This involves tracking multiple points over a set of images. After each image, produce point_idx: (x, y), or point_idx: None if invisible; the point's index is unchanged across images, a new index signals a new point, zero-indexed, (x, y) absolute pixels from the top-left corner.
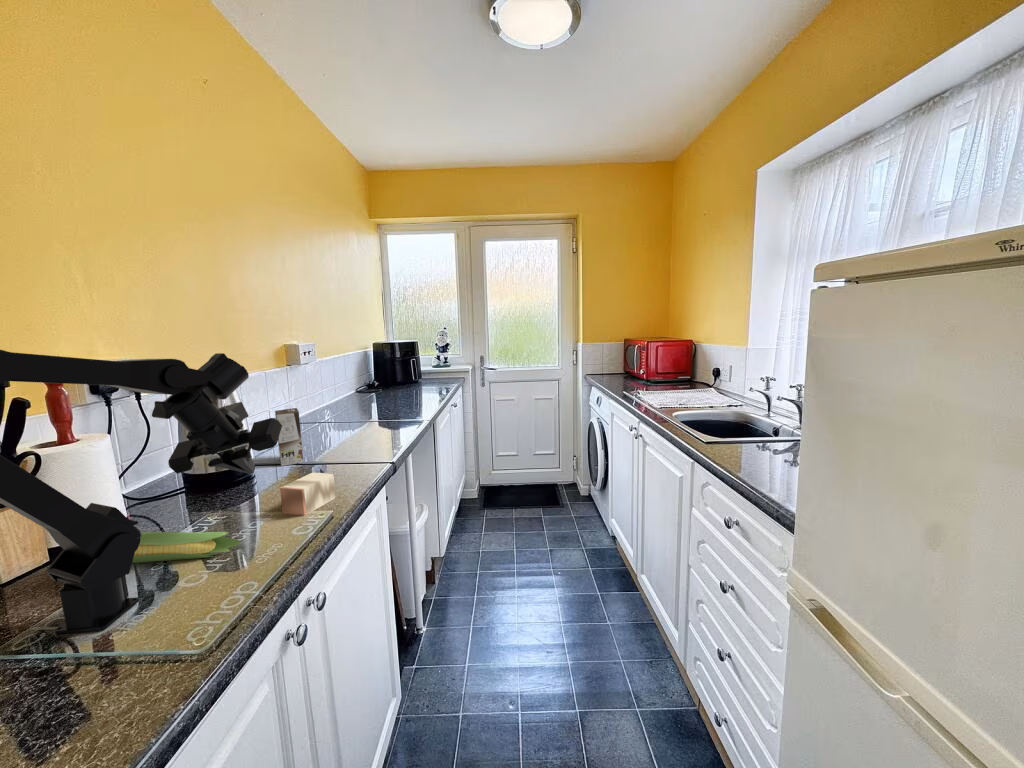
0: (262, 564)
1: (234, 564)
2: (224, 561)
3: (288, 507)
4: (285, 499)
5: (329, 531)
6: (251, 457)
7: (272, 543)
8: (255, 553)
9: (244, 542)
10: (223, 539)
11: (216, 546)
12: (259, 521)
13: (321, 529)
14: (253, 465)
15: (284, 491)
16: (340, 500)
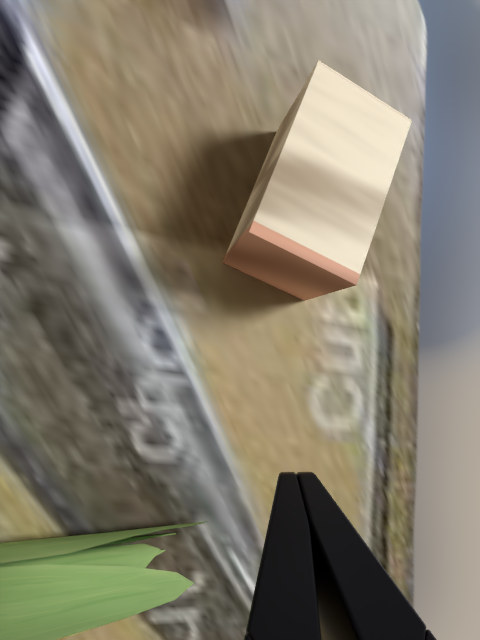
0: None
1: (235, 610)
2: (194, 595)
3: (255, 269)
4: (254, 256)
5: (410, 422)
6: (408, 608)
7: None
8: None
9: (195, 474)
10: (149, 530)
11: (130, 538)
12: (169, 319)
13: (386, 407)
14: (337, 511)
15: (266, 248)
16: None
